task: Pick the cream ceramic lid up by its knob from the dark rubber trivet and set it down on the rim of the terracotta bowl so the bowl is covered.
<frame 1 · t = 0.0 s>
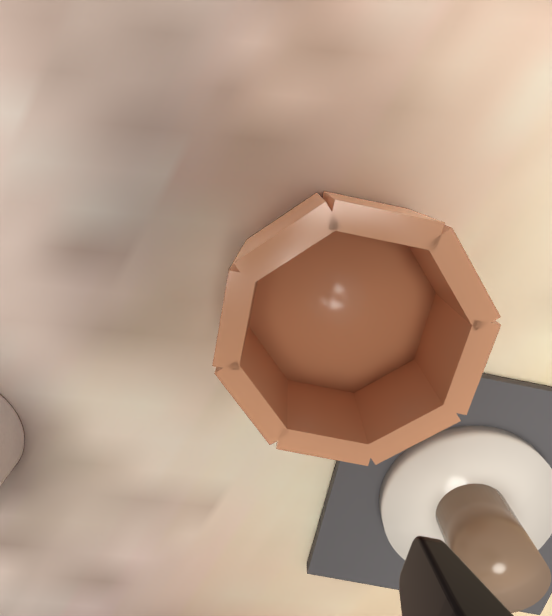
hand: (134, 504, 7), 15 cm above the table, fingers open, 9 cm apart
trivet: (459, 490, 24), on the table
bowl: (338, 305, 21), on the table
lid: (463, 498, 24), point 1 cm above the table, touching trivet
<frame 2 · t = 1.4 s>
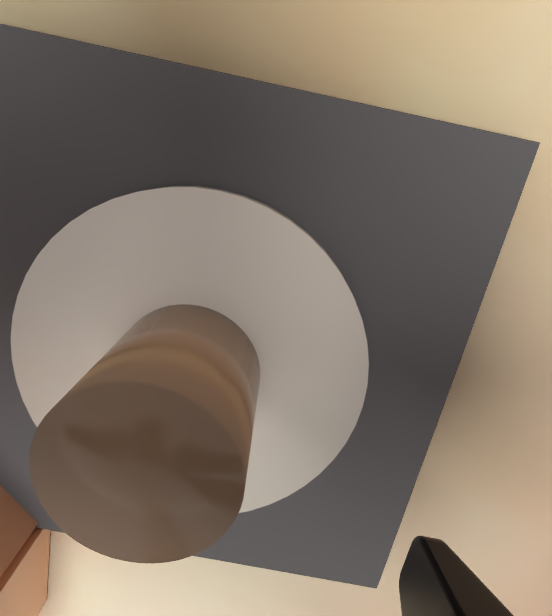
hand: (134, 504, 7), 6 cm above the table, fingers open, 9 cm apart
trivet: (201, 347, 13), on the table
lid: (196, 356, 12), point 1 cm above the table, touching trivet
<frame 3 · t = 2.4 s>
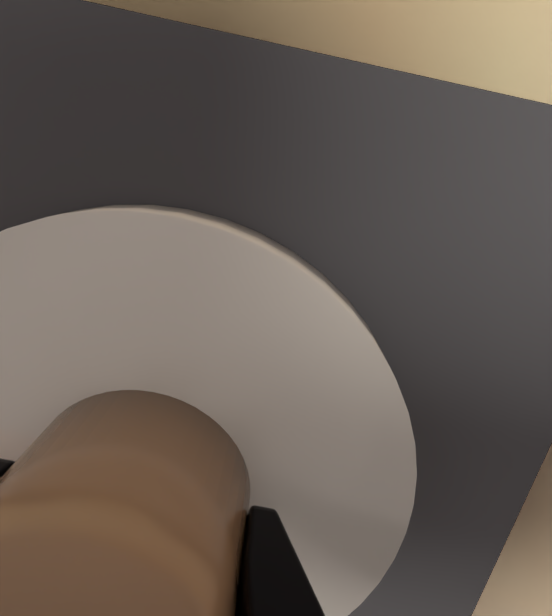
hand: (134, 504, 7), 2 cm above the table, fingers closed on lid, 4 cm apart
trivet: (167, 431, 9), on the table
lid: (159, 449, 8), point 1 cm above the table, touching gripper, trivet
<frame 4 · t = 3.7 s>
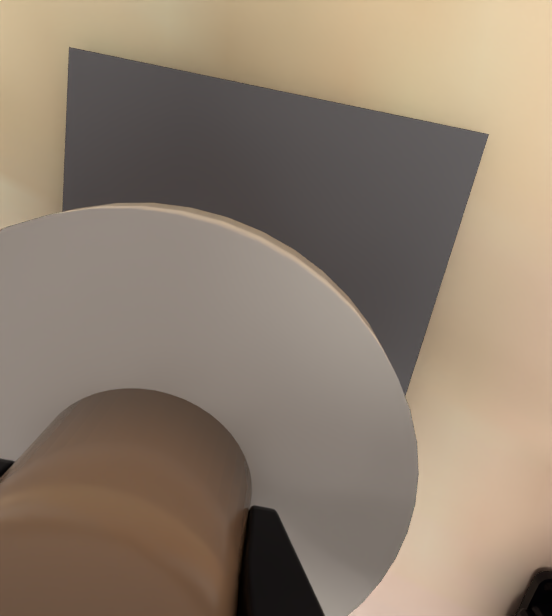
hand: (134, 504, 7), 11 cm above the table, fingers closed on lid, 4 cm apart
trivet: (247, 288, 17), on the table
lid: (160, 448, 8), point 10 cm above the table, touching gripper
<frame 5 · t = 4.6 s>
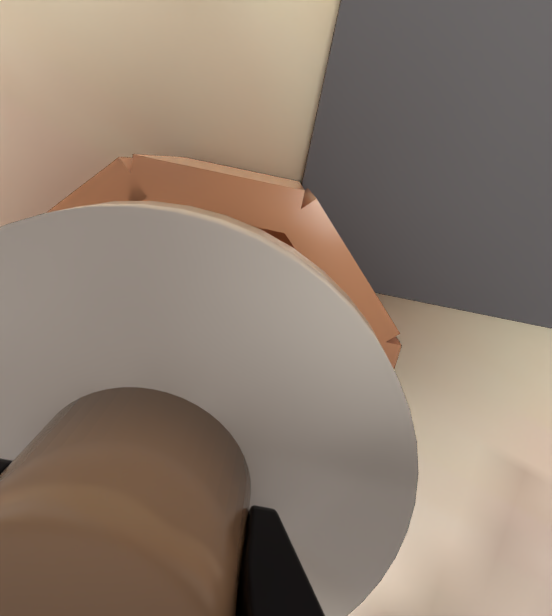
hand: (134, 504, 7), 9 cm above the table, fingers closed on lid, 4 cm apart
bowl: (217, 312, 16), on the table
lid: (159, 447, 8), point 8 cm above the table, touching gripper
when the fingers open (7 cm above the table, at t = 5.2 s): lid stays where it is, resting on bowl.
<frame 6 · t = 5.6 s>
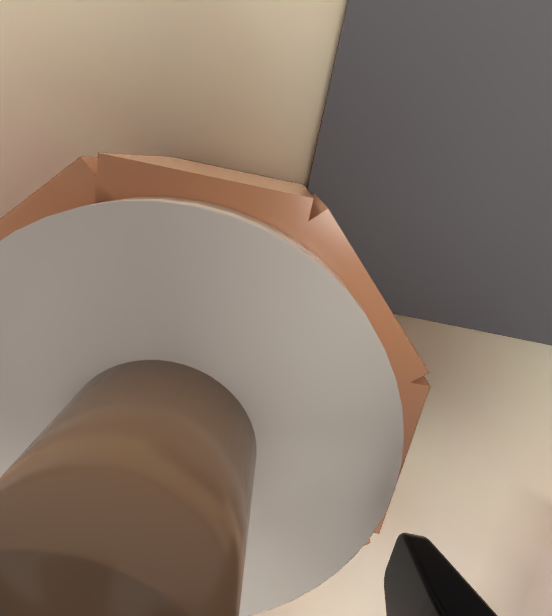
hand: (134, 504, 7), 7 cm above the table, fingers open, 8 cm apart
bowl: (210, 333, 14), on the table
lid: (173, 418, 9), point 5 cm above the table, touching bowl
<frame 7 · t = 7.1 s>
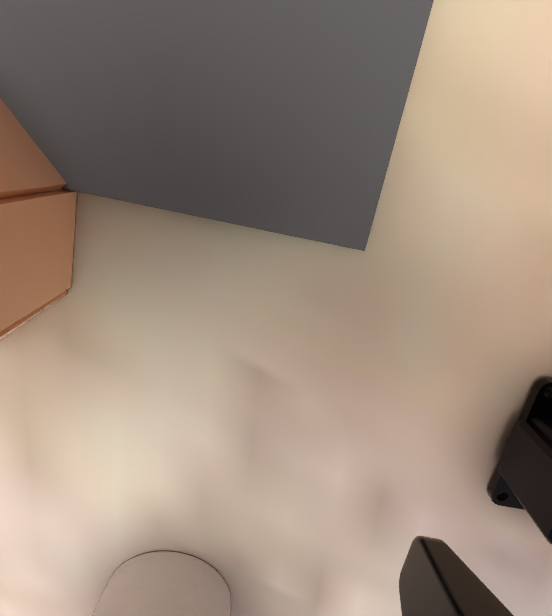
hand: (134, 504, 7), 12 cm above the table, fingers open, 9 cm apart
coffee cup: (169, 594, 23), on the table
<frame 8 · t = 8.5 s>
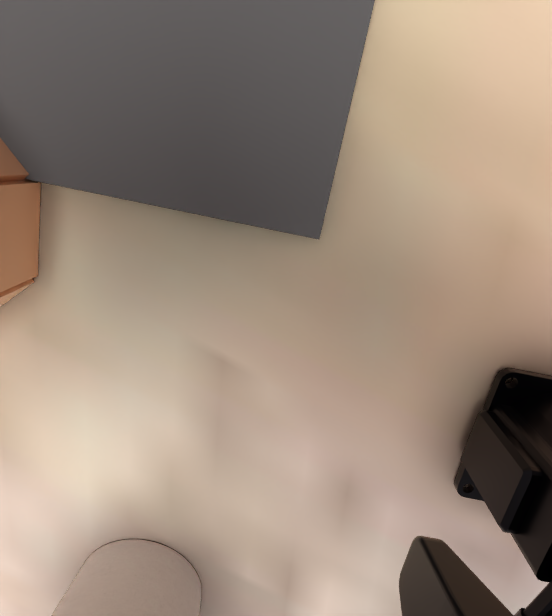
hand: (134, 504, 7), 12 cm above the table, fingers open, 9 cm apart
coffee cup: (142, 583, 24), on the table
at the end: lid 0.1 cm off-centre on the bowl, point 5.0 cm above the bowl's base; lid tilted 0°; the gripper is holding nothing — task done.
